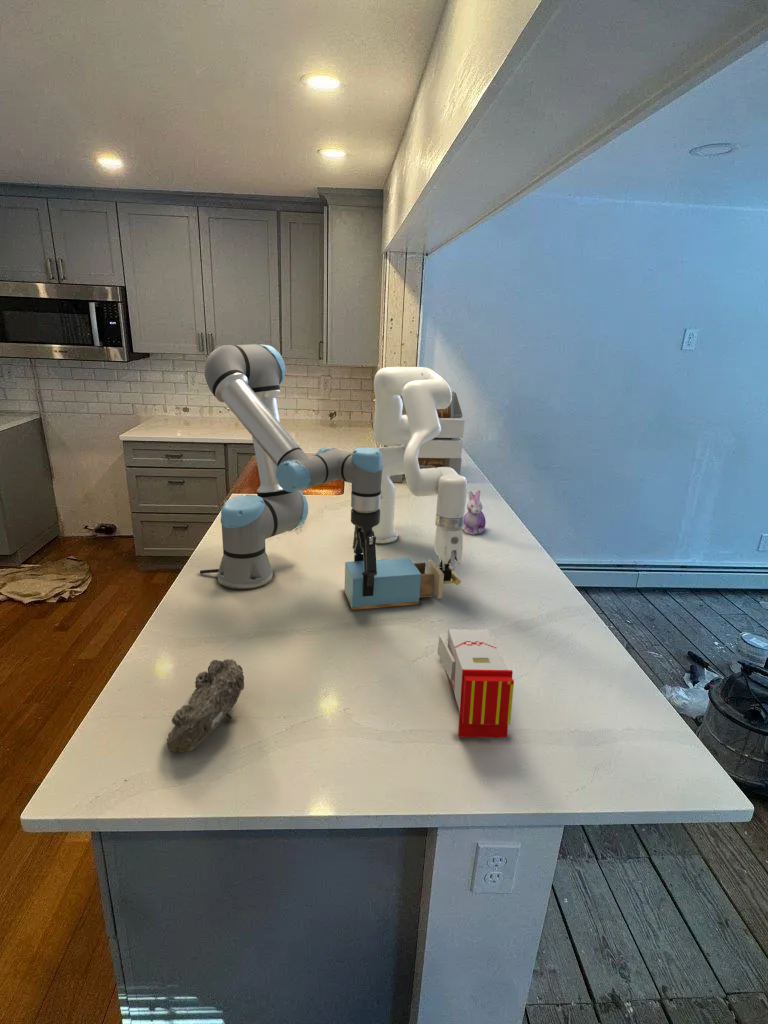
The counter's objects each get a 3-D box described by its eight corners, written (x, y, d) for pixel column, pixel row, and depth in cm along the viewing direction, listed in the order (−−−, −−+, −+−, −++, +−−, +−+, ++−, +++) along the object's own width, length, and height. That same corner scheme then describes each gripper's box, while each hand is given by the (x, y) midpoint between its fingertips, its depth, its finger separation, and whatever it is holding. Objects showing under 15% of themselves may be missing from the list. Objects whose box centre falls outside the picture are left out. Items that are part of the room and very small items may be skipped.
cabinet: (407, 586, 163) (409, 557, 160) (418, 604, 153) (421, 573, 150) (344, 591, 158) (345, 561, 155) (351, 610, 148) (352, 579, 145)
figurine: (471, 536, 200) (475, 496, 195) (454, 527, 208) (458, 488, 203) (492, 533, 204) (497, 493, 199) (475, 523, 212) (479, 485, 207)
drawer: (448, 581, 165) (450, 558, 162) (460, 596, 156) (462, 572, 154) (372, 587, 159) (373, 563, 157) (380, 603, 151) (381, 578, 148)
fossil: (192, 660, 117) (244, 628, 112) (224, 691, 120) (276, 661, 115) (142, 746, 98) (202, 712, 93) (182, 779, 101) (242, 748, 96)
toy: (488, 613, 130) (523, 677, 101) (484, 667, 133) (517, 744, 104) (435, 612, 130) (455, 676, 101) (432, 666, 133) (451, 743, 103)
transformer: (382, 463, 289) (386, 382, 275) (445, 464, 293) (451, 384, 279) (390, 482, 257) (394, 392, 243) (460, 483, 261) (468, 394, 247)
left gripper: (391, 523, 136) (387, 605, 143) (369, 494, 157) (367, 566, 164) (361, 525, 134) (358, 607, 141) (343, 495, 155) (341, 568, 162)
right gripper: (473, 529, 147) (466, 592, 153) (453, 510, 160) (447, 569, 167) (445, 531, 145) (440, 595, 151) (427, 511, 159) (423, 570, 165)
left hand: (363, 585), depth 153 cm, fingers closed on cabinet, 11 cm apart
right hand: (444, 581), depth 159 cm, fingers closed
